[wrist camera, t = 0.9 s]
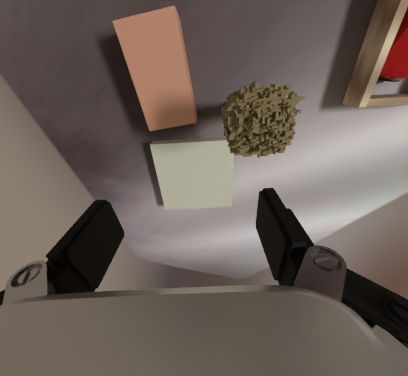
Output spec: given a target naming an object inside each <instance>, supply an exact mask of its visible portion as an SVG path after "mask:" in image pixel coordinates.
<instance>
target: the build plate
mask: <svg viewBox="0 0 408 376" xmlns="http://www.w3.org/2000/svg"><path fill="white" fill-rule="evenodd" d="M228 144H229V143H228V142H227V140H226V137H210V138H193V139H176V140H159V141H152V142H151V144H150V148H151V152H152V156H153V160H154V165H155V169H156V173H157V178H158V182H159V186H160V190H161V195H162V199H163V203H164V207H165V210H169V209H190V208H212V207H232V191H233V165H234V153H230V147H228Z"/></svg>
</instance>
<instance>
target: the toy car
mask: <svg viewBox="0 0 408 376" xmlns="http://www.w3.org/2000/svg"><path fill="white" fill-rule="evenodd" d="M407 75H408V7H407V10H406V12H405V14H404V17H403V19H402V22H401V24H400V27H399V29H398V31H397V34H396V36H395V39H394V41H393V43H392V46H391V48H390V51H389V53H388V55H387V58H386V60H385V63H384V65H383V68H382V70H381V72H380V75H379V77H378V79H381V80H383V81H390V82H398V81H400V80H401V79H403V78H405V77H406V76H407Z"/></svg>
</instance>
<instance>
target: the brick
mask: <svg viewBox="0 0 408 376" xmlns="http://www.w3.org/2000/svg"><path fill="white" fill-rule="evenodd" d="M113 24H114V27H115V30H116V33H117V36H118V39H119V42H120V45H121V48H122V51H123V54H124V57H125V60H126V63H127V66H128V69H129V72H130V74H131V77H132V80H133V83H134V86H135V89H136V92H137V95H138V98H139V101H140V104H141V107H142V110H143V113H144V116H145V119H146V122H147V125H148V128H149V131H154V130H160V129H165V128H171V127H176V126H182V125H187V124H193V123H197V112H196V106H195V101H194V95H193V90H192V84H191V79H190V73H189V68H188V62H187V57H186V51H185V46H184V40H183V35H182V29H181V24H180V18H179V15H178V13H177V10H176V8H175V6H170V7H166V8H162V9H158V10H154V11H150V12H146V13H142V14H138V15H134V16H130V17H126V18H122V19H118V20H114V21H113Z"/></svg>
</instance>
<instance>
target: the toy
mask: <svg viewBox="0 0 408 376" xmlns="http://www.w3.org/2000/svg"><path fill="white" fill-rule="evenodd" d="M291 87H292V85H291V86H286V85H284V86H281V87H279V84H271V85H268V88H266V85H263V88H259V86H258V84H257V83H256V81H254V80H253V82H252V83H250V87H246V86H243V87H241V89H240V90H239V92H238V91H235V92H233V94H229V97H227V102H224V106H222V107H221V113H222V115H223V124H224V128H225V130H224V136H226V140H227V142H228V143H229V144H228V147H230V153H234V155H243V157H245V156H252V154H258V158H259V157H260V156H268V155H269V154H271V153H273V154H276V152H279V153H284V150H285V147H286V145H290V142H291V141H289V140H292V139H293V136H294V134H295V132H294V129H293V127H294V126H295V125H296V123H294V122H295V119H294V117H295V116H296V115H297V113H301V110H296V108H295V105H296V104H297V103H298V102H299V100H303V99H304V98H305V97H297V94H296V93H295V92H293V91H291Z"/></svg>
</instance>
